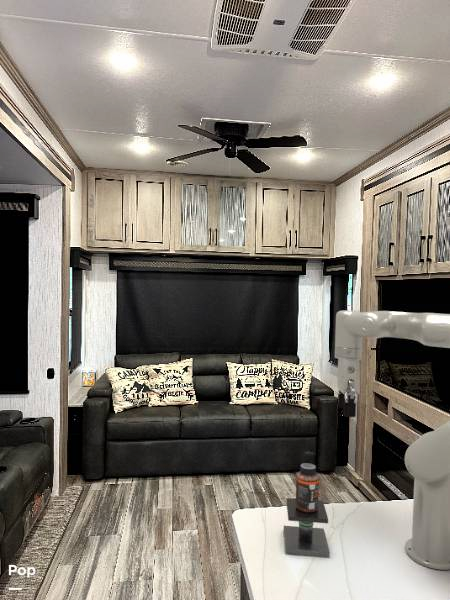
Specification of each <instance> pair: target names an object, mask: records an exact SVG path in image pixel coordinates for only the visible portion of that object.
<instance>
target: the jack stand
mask: <svg viewBox="0 0 450 600" xmlns="http://www.w3.org/2000/svg"><path fill="white" fill-rule="evenodd" d="M285 502H286V503H285V504H286V511H287V512H286V513H287V520H288V522H290V521H291V522H298V526H294V525H283V539H284V541H283V542H284V552H285V555H287V556H298V557H299V556H303V557H314V558H326V559H327V558H328V559H330V553H331V552H330V548H329V544H328V540H327V536H326V533H325V528H324V527H322V528H321V527H319V528H318V527H314V524H315V523H317V524H329V517H328V513H327V510H326V506H325V502H324V500H320V499H318V502H319V503H318V509H317V510H316V511H315V512H311V513H309V512H303V511H300V510H299V509H297V507H296V498H286V501H285Z"/></svg>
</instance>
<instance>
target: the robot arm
mask: <svg viewBox="0 0 450 600" xmlns="http://www.w3.org/2000/svg"><path fill="white" fill-rule="evenodd" d="M334 337H335V338H334V341H335V342H334V359H338V360H337V378H336V379H337V381H336V382H337V383H336V384H337V388H338V391H337V392H338V394H337V407H338V408H343V416H344V417H345V418H355V417H356V413H357V399H356V398H357V397H356V395H357V396H358V395H360V394H361V377H360V376H361V373H360V372H361V371H360V360H362V357H363V356H362V354H363V352H362V350H363V339H368V340H376V339H381V338H396V339H406V340H413V341H417V342H418V343H420V344H422V345H423V346H428V347H436V348H446V349H450V313H437V312H436V313H435V312H408V311H407V312H404V311H390V310H376V311H365V312H364V311H362V312H360V311H359V310H348V309H347V310H338V312H336V315H335V336H334ZM404 464H405V467H406V469H407V471H408V473H409V474H410V475H411V476H412V477H413V478H414V480H413V481H414V482H413V505H412V528H411V530H412V531H411V532H412V533H411V538H409V539H408V540H406V541H405V544H404V545H405V546H404V549H405V552H406V554H407V555H408V557H409V558H411V559H412V560H413V561H415V562H416V563H418V564H420V565H421V566H424V567H426V568H430V569H435V570H439V571H447V570H448V571H449V570H450V419H449V420H448V421H447V422H445V423H444V424H442V425H441V426H439V427H438V428H436V429H435V430H432V431H429V432H426V433H424V434H422V435H420V436H419V437H418V438H417V439H415V441H414V442H412V443H411V444H410V445H409V446H408V448H407V449H406V451H405V454H404Z"/></svg>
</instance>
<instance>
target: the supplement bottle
mask: <svg viewBox="0 0 450 600" xmlns="http://www.w3.org/2000/svg"><path fill="white" fill-rule="evenodd" d="M299 470H300V471H298V472H297V473H296V479H295V480H296V483H295V499H296V507H297V509H299V510H300V511H303V512H309V513H311V512H315V511H316V510H317V509H318V503H319V502H318V500H320V498H319V497H320V494H319V493H320V491H319V490H320V476H319V474H318V473H317V467H316V465H315V464H313V463H309V462H308V463H307V462H306V463H304V462H303V463H301V464H300V469H299Z"/></svg>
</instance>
